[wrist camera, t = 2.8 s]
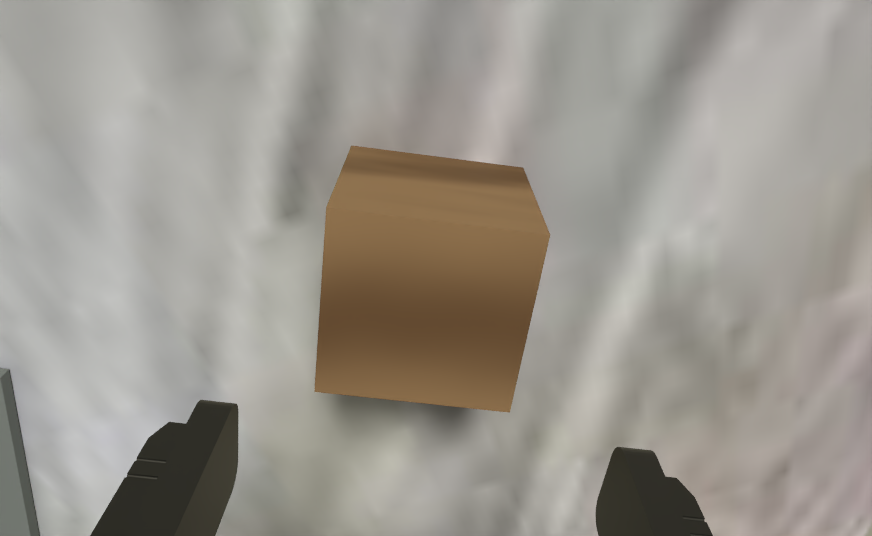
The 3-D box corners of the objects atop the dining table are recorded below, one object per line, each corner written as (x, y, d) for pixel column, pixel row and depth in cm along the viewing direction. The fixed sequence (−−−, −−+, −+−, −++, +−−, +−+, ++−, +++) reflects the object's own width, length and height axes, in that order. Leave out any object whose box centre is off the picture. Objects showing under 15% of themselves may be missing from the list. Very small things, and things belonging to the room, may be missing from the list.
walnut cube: (351, 144, 23) (326, 207, 17) (523, 167, 23) (549, 234, 18) (340, 296, 25) (314, 391, 20) (493, 314, 26) (509, 412, 20)
